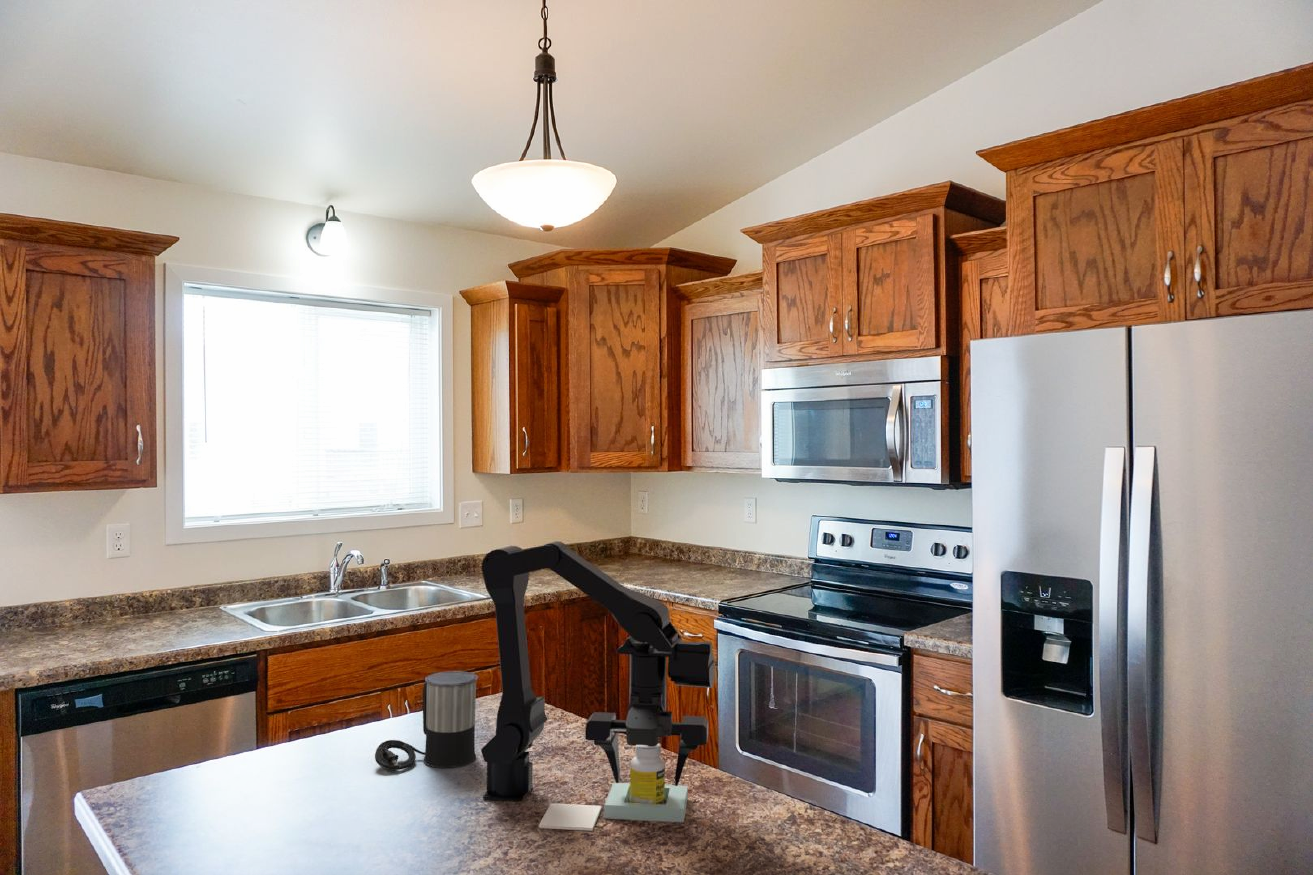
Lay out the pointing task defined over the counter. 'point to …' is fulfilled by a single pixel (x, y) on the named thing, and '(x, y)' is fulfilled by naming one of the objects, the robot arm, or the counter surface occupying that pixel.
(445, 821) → the counter surface
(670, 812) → the holder block
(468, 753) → the milk frother
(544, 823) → the white square tile
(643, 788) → the supplement bottle
